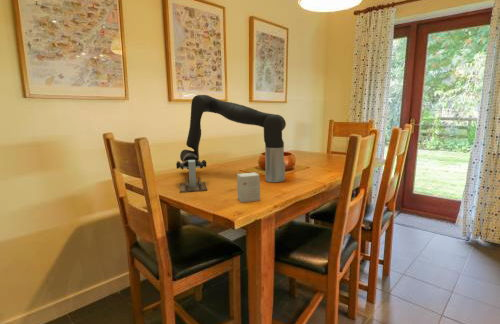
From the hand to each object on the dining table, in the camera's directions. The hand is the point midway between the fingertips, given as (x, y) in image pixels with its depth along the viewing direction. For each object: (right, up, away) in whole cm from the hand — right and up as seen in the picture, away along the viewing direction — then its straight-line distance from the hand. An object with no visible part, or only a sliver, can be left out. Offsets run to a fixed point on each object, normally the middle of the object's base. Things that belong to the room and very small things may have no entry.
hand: (192, 166), depth 135 cm
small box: (+27, -13, -18) cm, 35 cm away
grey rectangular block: (0, -9, +1) cm, 9 cm away
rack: (0, -10, +1) cm, 10 cm away
